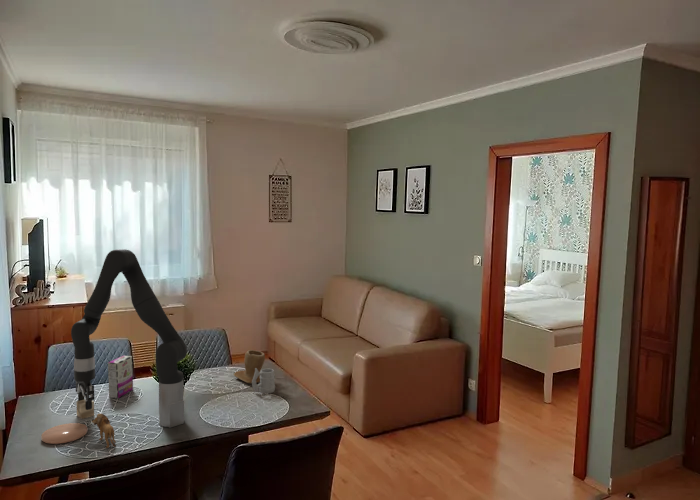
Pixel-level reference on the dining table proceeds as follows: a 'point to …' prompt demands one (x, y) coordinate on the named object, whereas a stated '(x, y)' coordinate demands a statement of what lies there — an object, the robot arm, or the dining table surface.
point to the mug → (264, 380)
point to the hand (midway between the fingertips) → (84, 406)
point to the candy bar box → (120, 376)
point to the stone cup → (251, 366)
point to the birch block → (84, 409)
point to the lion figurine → (105, 428)
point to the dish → (64, 433)
